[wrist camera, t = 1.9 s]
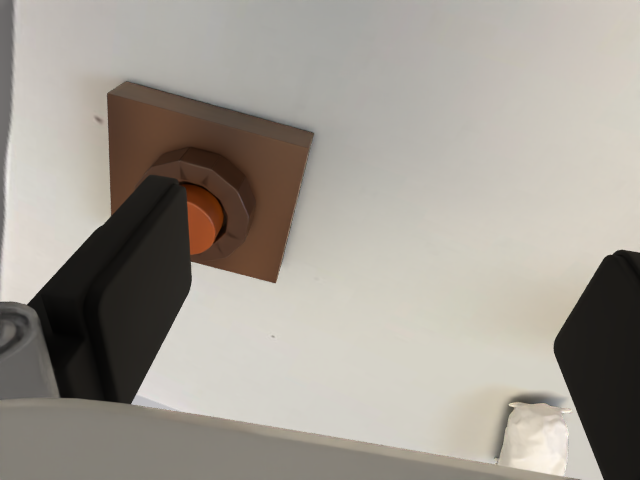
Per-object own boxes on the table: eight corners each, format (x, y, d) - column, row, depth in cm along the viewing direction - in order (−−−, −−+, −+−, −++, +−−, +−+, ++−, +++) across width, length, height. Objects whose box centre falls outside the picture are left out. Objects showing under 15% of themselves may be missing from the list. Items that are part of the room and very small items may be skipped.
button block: (127, 223, 32) (97, 257, 28) (125, 80, 26) (88, 104, 23) (281, 263, 32) (270, 302, 29) (314, 132, 26) (304, 163, 23)
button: (160, 228, 27) (148, 245, 26) (163, 176, 25) (150, 191, 24) (220, 244, 27) (211, 262, 26) (227, 193, 25) (218, 209, 24)
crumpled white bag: (551, 444, 43) (577, 402, 35) (555, 527, 39) (585, 499, 31) (494, 433, 44) (508, 390, 37) (492, 512, 40) (507, 481, 33)
